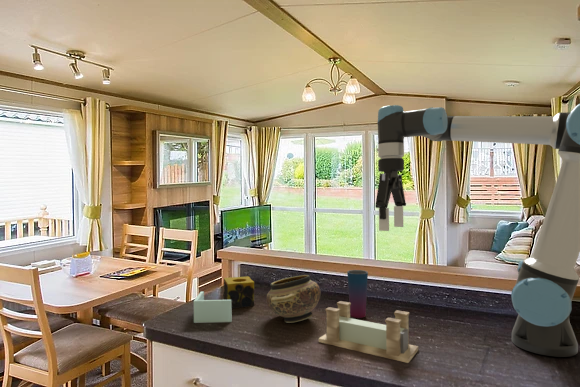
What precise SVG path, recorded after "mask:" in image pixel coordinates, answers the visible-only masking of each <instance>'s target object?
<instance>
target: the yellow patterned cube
mask: <svg viewBox="0 0 580 387" xmlns="http://www.w3.org/2000/svg"><path fill="white" fill-rule="evenodd" d="M222 300H231V307H232V309H236V308H238V309H239V308H245V307H246V308H247V307H253V306H255V281H254V280H252V279H251V277H250V276H248V275H247V276H233V277H223V296H222Z"/></svg>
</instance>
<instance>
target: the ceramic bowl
mask: <svg viewBox="0 0 580 387" xmlns="http://www.w3.org/2000/svg"><path fill="white" fill-rule="evenodd" d="M269 286H270V290H269V291H268V293H267V294H266V298H265V299H266V300H265V301H266V304H267V306H268V308H269V310H270V311H272V312H273V313H274V314H275V315H278V316H280V317H282V318H283V321H284V323H288V324H290V323H291V324H294V323H297V322H301V321H304V320H307V319H309V318H311V317H312V316H313V312H312V311H313V310H314V309H315V308H316V306H317V305H318V303H319V301H320V300H321V296H322V295H321V292H322V291H321V288H320V286H319V284H318V283H317V282H316V281H314V280H311V276H310V275H309V274H303V275H302V274H301V275H296V276H295V275H294V276H290V277H285V278H281V279H277V280H276V281H275V280H274V281H273V282H271V283H270V285H269Z"/></svg>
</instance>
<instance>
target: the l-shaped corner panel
mask: <svg viewBox="0 0 580 387" xmlns="http://www.w3.org/2000/svg"><path fill="white" fill-rule="evenodd" d="M232 309H233V308H232V307H231V300H223V299H205V291H200V292H199V293H198V295H196V297H195V299H194V300H193V324H194V323H195V324H196V323H198V324H199V323H201V324H202V323H206V324H207V323H232V321H233V320H232V319H233V318H232V317H233V316H232V314H233V312H232V311H233V310H232Z"/></svg>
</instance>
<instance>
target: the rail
mask: <svg viewBox="0 0 580 387" xmlns="http://www.w3.org/2000/svg"><path fill="white" fill-rule="evenodd" d="M325 326H326V327H325V334H326V336H327V317H326V318H325ZM339 339H340V340H345V341H349V342H354V343H358V344H363V345H367V346H372V347H376V348H380V349H385V350H386V324H383V323H378V322H372V321H368V320H361V319H358V318H357V319H356V318H353V317H350V318H347V317H341V316H339ZM400 347H401V353H403V354H404V353H405V351H406V350H407V349H408V329H405V328H400Z"/></svg>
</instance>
